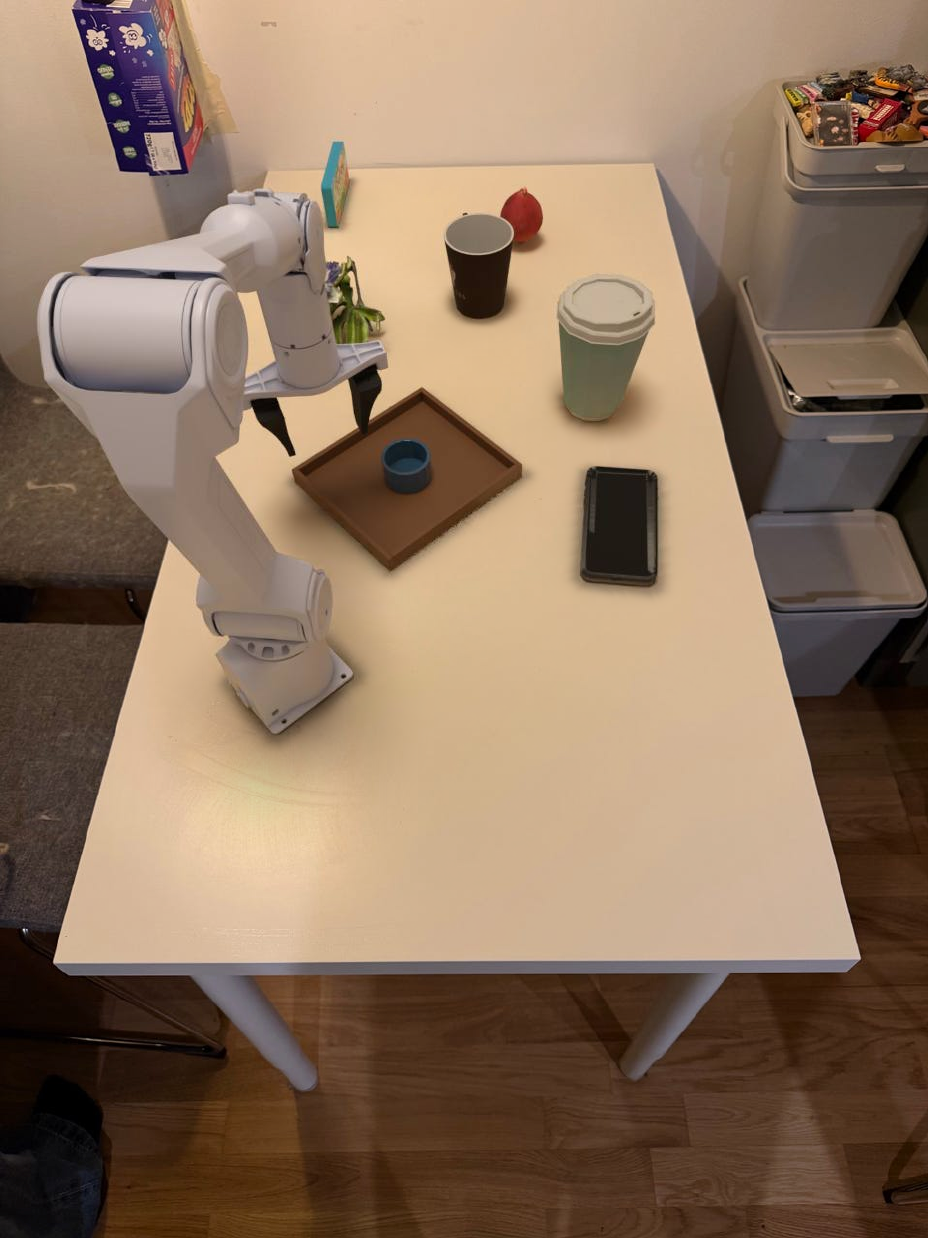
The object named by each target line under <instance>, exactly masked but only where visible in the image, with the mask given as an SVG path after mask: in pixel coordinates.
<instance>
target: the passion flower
mask: <svg viewBox="0 0 928 1238" xmlns="http://www.w3.org/2000/svg"><path fill="white" fill-rule="evenodd" d="M326 269H327V273H326V277H325V280H324V283H325V288H326V294H327V299H328V304H329V309H330V314H331V318H333V315H334V314H335V312H336V311H337V310H338V309H339V308H341V307H344V308H343V309H342V310H341V312H340V314H338V315H336V316H335V317H334V318H333V319H332V324H333V329H334V334H335V340H336V344H355V343H367V342H369V341H368V340H369V335H370V330H371V331H372V332H373V331H374V329H373V326H372V323H371V322H373V323H376V324H375V327H376V332H377V333H380V331H381V322H384V321H385V320H386V317H385V315H383V314H382V311H381V310H380V309H376V308H374V307H373V308H372V307H369V306H366V305H365V304H364V301H363V299H362V295H361V288H360V285H359V280H358V279H359V278H358V271H357V266H356V262H355V261H354V260H353V259H352V257H350V255H347V256H346V262H344V261H343V262H341V264H340V262H339V261H334V260H333V261H331V260H330V261H326ZM351 272H352V273H353V276H354V282H355V288H356V294H357V301H356V304H354V299H353V298H354V297H353V296H354V287H352V286H351V277H350V275H348V274H349V273H351ZM344 331H345V342H344V341H343V336H344ZM343 342H344V343H343Z"/></svg>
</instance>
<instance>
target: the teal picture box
mask: <svg viewBox="0 0 928 1238" xmlns="http://www.w3.org/2000/svg"><path fill="white" fill-rule="evenodd" d="M330 147H331V148H330V151H329V155H328V158H327V162H326V165H325V170H324V173H323V177H322V180H321V183H320V191H321V197H322V203H323V208H324V214H325V219H326V224H327V227H328V228H329V227H331V228H338V227H339V226H340V223H341V218H342V214H343V210H344V206H345V202H346V199H347V193H348V190H349V185H350V175H349V169H348V161H347V155H346V149H345V142H344V141H332V143H331V146H330Z"/></svg>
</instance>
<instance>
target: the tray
mask: <svg viewBox="0 0 928 1238" xmlns="http://www.w3.org/2000/svg"><path fill="white" fill-rule="evenodd" d="M402 438H413V439H416V440H419V441H422V442H423V443H424V444H425V445H426V446H427V447H428V448H429V451H430V453H431V463H432V479H431V481H430V483H429V485H428V486H427V487H426V488H424V489H423V490H421V491H419V492H417V493H413V494H401V493H397V492H395V491H393V490H391V489H390V488H389V487H388V486H387V485H386V483H385V480H384V476H383V470H382V464H381V454H382V451H383V450H384V448H385V447H386V446H387V445H388V444H390V443H391V442H393V441H395V440H399V439H402ZM291 474H292V477H293V480H294V483H296V485H298V487H300V488H301V489H302V490H303V491H304V492H305V493H306V494H307V495H308V496H310V497H311V498H312V499H313V501H315V502H316V503H317V504H318V505H319V506H320V507H321V508H322V509H323V510H324V511H325V512H327V514H329V515H330V516H331V517H332V518H333V519H334V520H335V521H336V522H338V524H339V525H341V527H343V528H344V529H345V530H346V531H347V532H348V533H349V534H350V535H351V536H352V537H353V538H354V539H355V540H356V541H358V542H359V543H360V545H362V546H363V548H365V549H366V550H367V551H368V552H369V553H370V554H371V555H373V556H374V557H375V558H376V559H377V560H378V561H379V562H380V563H381V564H382V565H383V566H384V567H386V569H387V570H388V571H390V572H391V571H393V570H394V569H395V568H397V567H398V566H399V565H401V564H402V563H404V562H405V561H407V560H409V558H411V557H412V556H413V555H415V554H416V553H418V552H419V551H420V550H422V549H424V548H425V547H427V546H428V545H429V544H430V543H431V542H433V541H435V539H437V538H439V537H440V536H441V535H443V534H444V533H445V532H447V531H448V530H449V529H451V528H452V527H454V526H455V525H456V524H458V523H459V522H461V521H462V520H464V519H465V518H466V517H468V516H469V515H470V514H472V513H473V512H474V511H477V509H479V508H480V507H481V506H483V505H484V504H486V503H487V502H489V501H491V499H493V498H494V497H495V496H497V495H498V494H500V493H501V492H502V491H504V490H505V489H506V488H508V487H509V486H511V485H512V484H514V483H516V482H517V481H518V480H519V479H521V478H522V477H523V463H521V462H520V461H519V460H518V459H516V458H515V457H513V455H511V454H510V453H509V452H507V451H506V450H505V449H503V448H502V447H500V445H498V444H497V443H495V441H494V440H492V439H490V438H489V437H488V436H486V435H485V434H484V433H483V432H481V431H480V430H479V429H477V428H476V427H475V426H474V425H472V424H471V423H470V422H468V421H467V420H465V419H464V418H463V417H462V416H460V414H458V413H457V412H456V411H454V410H453V409H452V408H450V407H449V406H448V405H446V404H445V403H443V401H441V400H440V399H439V398H437V397H436V396H434V394H432V393H431V392H429V391H428V390H427V389H425V388H424V387H423V386H421V387H419V388H418V389H416V390H415V391H413V392H411V393H410V394H408V395H406V396H405V397H403V398H402V399H400V400H399V401H398V402H395V403H394V404H393V405H391V406H389V407H388V408H386V409H385V410H383V411H382V412H379V414H376V415H375V416H374V417H372V418H370V419H369V425H368V433H366V434H363V435H362V434H361V432H360V430H359V428H358V427H356V428H355V429H353V430H352V431H350V432H348V433H347V434H345V435H344V436H342V437H340V438H339V439H337V440H336V441H334V442H332V443H331V444H329V445H327V446H326V447H324V448H323V449H322V450H320V451H318V452H317V453H315V454H314V455H312V456H311V457H308V458H307V459H305V460H304V461H302V462H301V463H300V464H298V465H296V466H294V467H293V468H292V469H291Z"/></svg>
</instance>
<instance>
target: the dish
mask: <svg viewBox="0 0 928 1238" xmlns="http://www.w3.org/2000/svg"><path fill="white" fill-rule="evenodd" d="M381 464H382V470H383V476H384V480H385V483H386V485H387V486H388V487H389V488H390V489H391V490H393V491H395V492H397V493H401V494H413V493H417V492H419V491H421V490H423V489H424V488H426V487H427V486H428V485H429V483H430V481H431V479H432V463H431V453H430V451H429V448H428V447H427V446H426V445H425V444H424V443H423V442H422V441H419V440H416V439H413V438H402V439H399V440H395V441H393V442H391V443H390V444H388V445H387V446H386V447H385V448H384V450H383V451H382V454H381Z"/></svg>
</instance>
